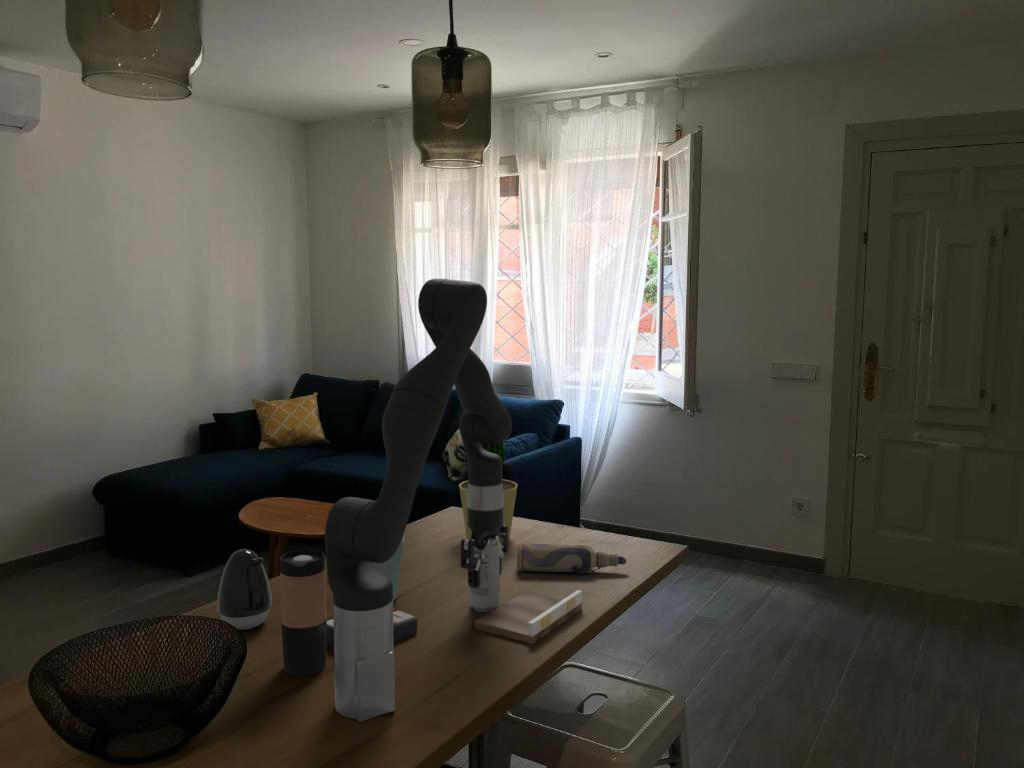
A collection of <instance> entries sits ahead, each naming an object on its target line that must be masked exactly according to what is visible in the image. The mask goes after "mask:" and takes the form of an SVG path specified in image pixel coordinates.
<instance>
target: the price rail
mask: <svg viewBox="0 0 1024 768" xmlns="http://www.w3.org/2000/svg"><path fill="white" fill-rule="evenodd" d="M581 603H582V604H583V590H580V589H577V590H576V591H574V592H573V593H571V594H569V595H568V596H567V597H565V599H563V600H562V601H560V602H559V603H557V604H556V605H554V606H553V607H551V608H550V609H548V610H546V611H545V612H543V613H542V614H540V615H539V616H537V617H536V618H534V619H533V620H531V621H530V622H528V635H529V636H532V637H533V636H534V635H536V634H537V633H539V632H540V631H541V630H543V629H544V628H546V627H547V626H549V625H550V624H552V623H553V622H555V621H556V620H557V619H559V618H560V617H562V616H563V615H565V614H566V613H568V612H569V611H570V610H572V609H573V608H575V607H576V606H578V605H579V604H581Z"/></svg>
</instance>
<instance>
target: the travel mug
mask: <svg viewBox="0 0 1024 768" xmlns="http://www.w3.org/2000/svg"><path fill="white" fill-rule="evenodd" d="M279 560H280V561H279V562H280V564H279V565H280V566H279V567H280V622H281V623H280V625H281V639H282V641H281V642H282V654H283V655H282V657H283V669H284V672H285V673H286V674H288V675H290V676H292V677H293V676H294V677H305V676H306V677H308V676H312V675H316V674H318V673H320V672H322V671H323V670H324V669H326V665H327V645H326V635H327V621H328V619H327V616H328V615H327V586H326V585H327V583H326V582H327V581H326V554H325V553H324V552H323V551H320V550H319V549H312V548H311V549H309V548H304V549H296V550H290V551H288V552H285V553H283V554H282V555H281V556H280V558H279Z"/></svg>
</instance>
